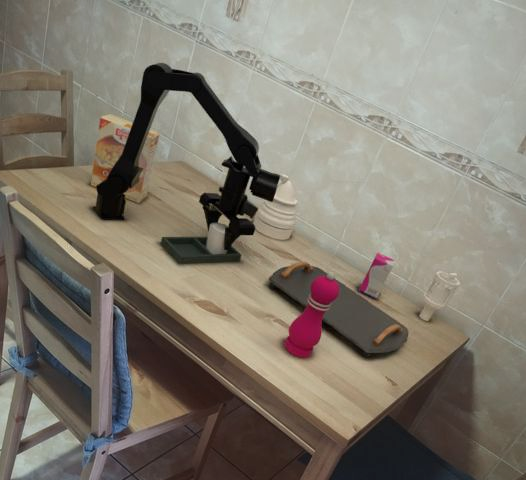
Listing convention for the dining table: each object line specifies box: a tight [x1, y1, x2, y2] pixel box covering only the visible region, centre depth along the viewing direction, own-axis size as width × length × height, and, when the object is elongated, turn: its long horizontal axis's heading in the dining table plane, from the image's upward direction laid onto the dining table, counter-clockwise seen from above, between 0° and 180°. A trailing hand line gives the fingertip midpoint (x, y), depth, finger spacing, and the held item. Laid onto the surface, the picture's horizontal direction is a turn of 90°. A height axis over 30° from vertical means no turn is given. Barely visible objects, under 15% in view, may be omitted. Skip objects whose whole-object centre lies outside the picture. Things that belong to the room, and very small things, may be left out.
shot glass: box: [206, 222, 229, 254], centre depth 137 cm, size 7×7×7 cm
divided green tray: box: [160, 236, 242, 265], centre depth 135 cm, size 19×10×2 cm, turn 128°
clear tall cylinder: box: [419, 270, 461, 322], centre depth 146 cm, size 7×7×15 cm
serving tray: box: [268, 261, 409, 359], centre depth 132 cm, size 39×23×6 cm, turn 49°
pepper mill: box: [284, 271, 339, 358], centre depth 108 cm, size 7×7×20 cm
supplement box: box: [358, 252, 396, 300], centre depth 149 cm, size 6×6×12 cm
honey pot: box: [252, 173, 299, 241], centre depth 161 cm, size 13×13×18 cm
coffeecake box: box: [90, 113, 160, 204], centre depth 145 cm, size 15×7×20 cm, turn 82°
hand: (218, 242), depth 137 cm, fingers open, 7 cm apart
